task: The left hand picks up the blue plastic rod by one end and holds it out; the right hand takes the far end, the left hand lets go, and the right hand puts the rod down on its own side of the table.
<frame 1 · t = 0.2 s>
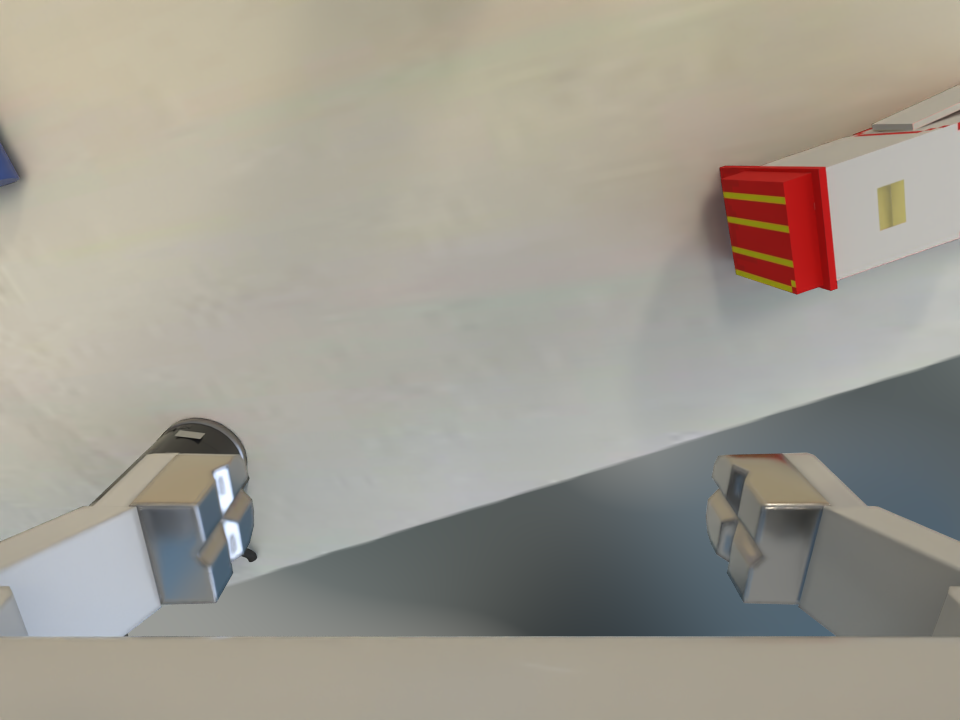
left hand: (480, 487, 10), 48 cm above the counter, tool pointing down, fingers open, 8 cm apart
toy: (874, 168, 54), on the counter
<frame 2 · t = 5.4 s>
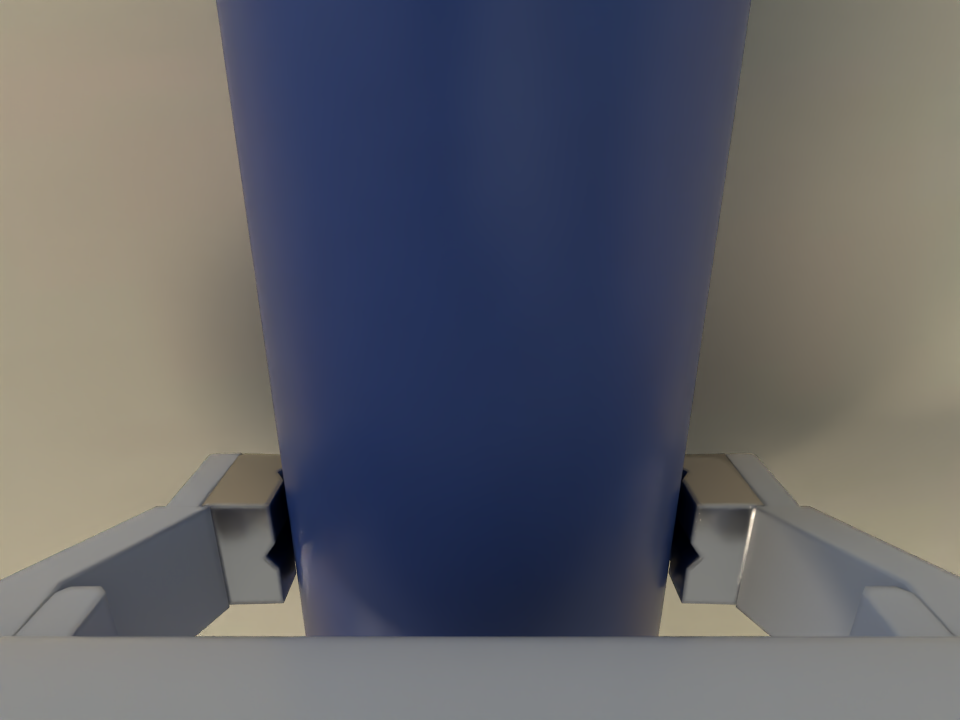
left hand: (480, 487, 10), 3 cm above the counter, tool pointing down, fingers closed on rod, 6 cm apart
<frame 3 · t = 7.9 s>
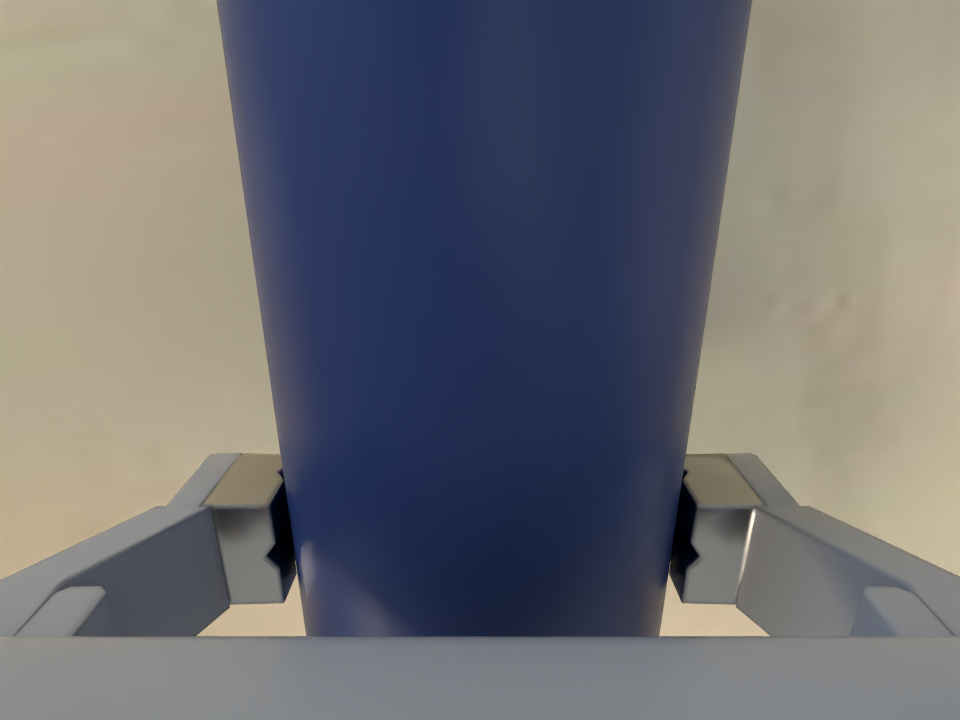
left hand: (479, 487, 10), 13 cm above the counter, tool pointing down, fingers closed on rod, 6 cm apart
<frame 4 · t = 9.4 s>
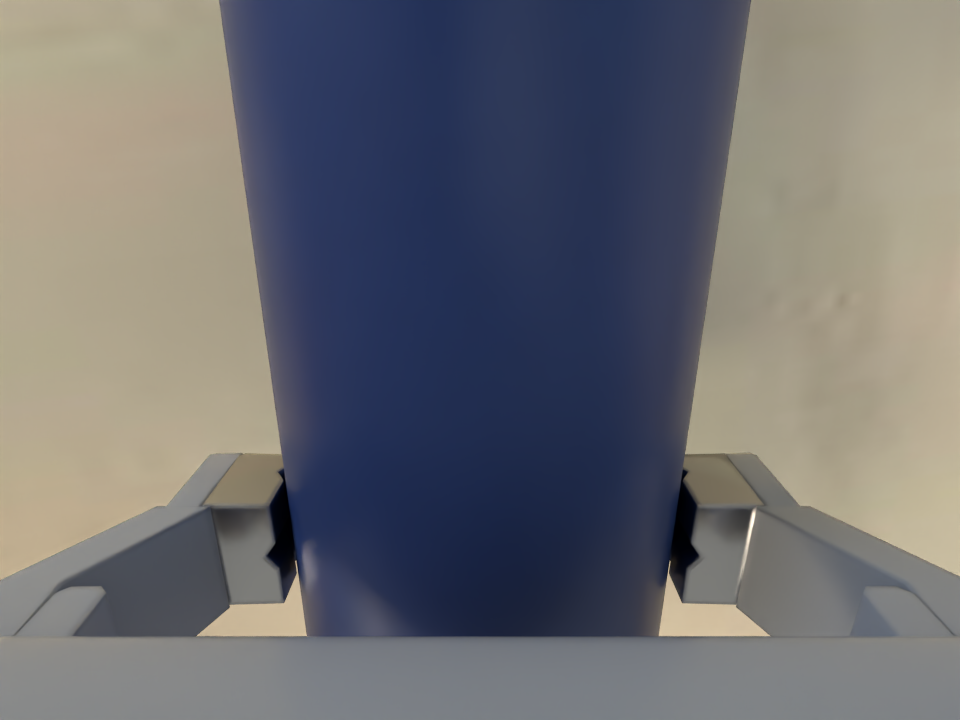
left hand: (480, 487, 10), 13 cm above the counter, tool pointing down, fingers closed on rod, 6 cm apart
when the right hand's fingers open (4 cm above the counter, at t = 17.7 s): rod drops 3 cm and tips over, point 1 cm above the counter.
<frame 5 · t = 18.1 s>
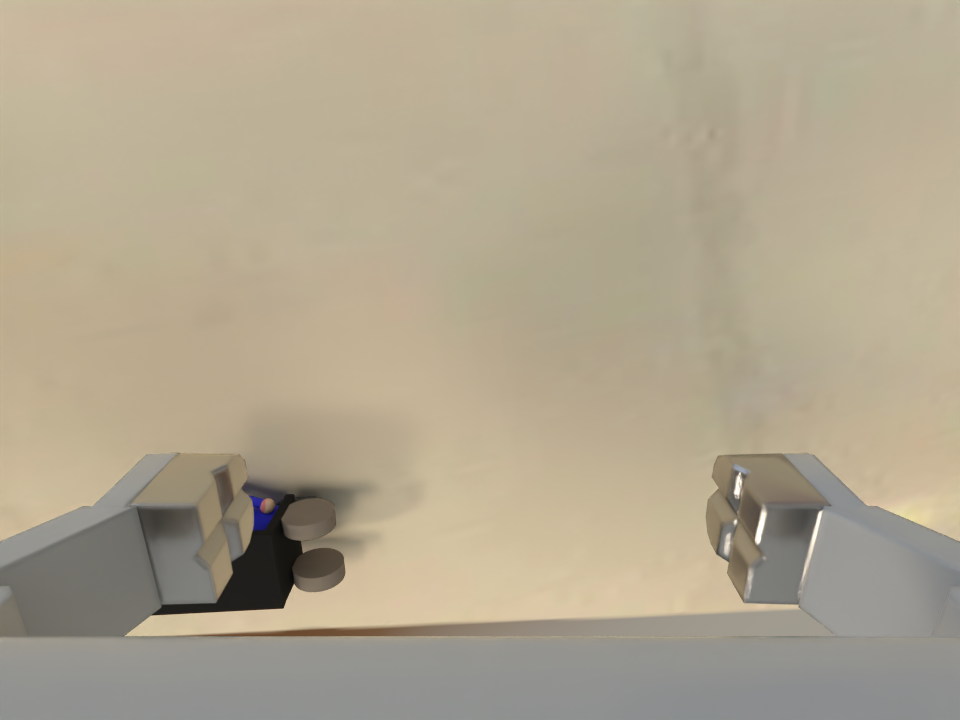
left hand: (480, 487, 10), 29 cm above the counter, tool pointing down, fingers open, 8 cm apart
figurine character: (252, 513, 45), on the counter
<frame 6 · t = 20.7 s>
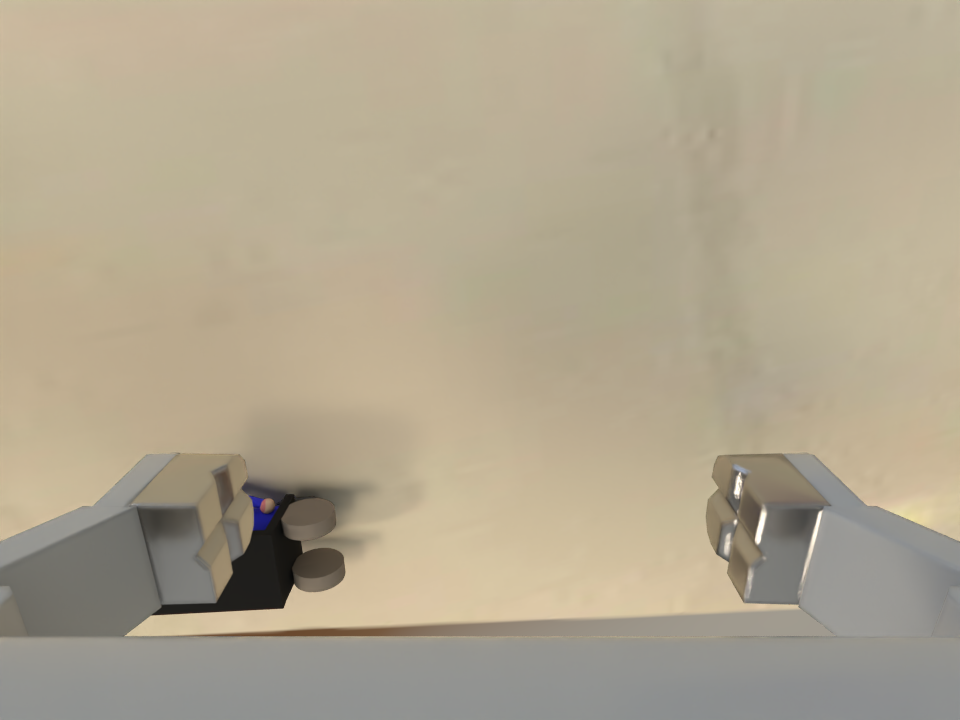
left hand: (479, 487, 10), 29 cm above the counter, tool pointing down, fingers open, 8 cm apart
figurine character: (252, 513, 45), on the counter
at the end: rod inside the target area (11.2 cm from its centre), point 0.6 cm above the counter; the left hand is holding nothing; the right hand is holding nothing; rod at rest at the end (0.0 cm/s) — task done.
